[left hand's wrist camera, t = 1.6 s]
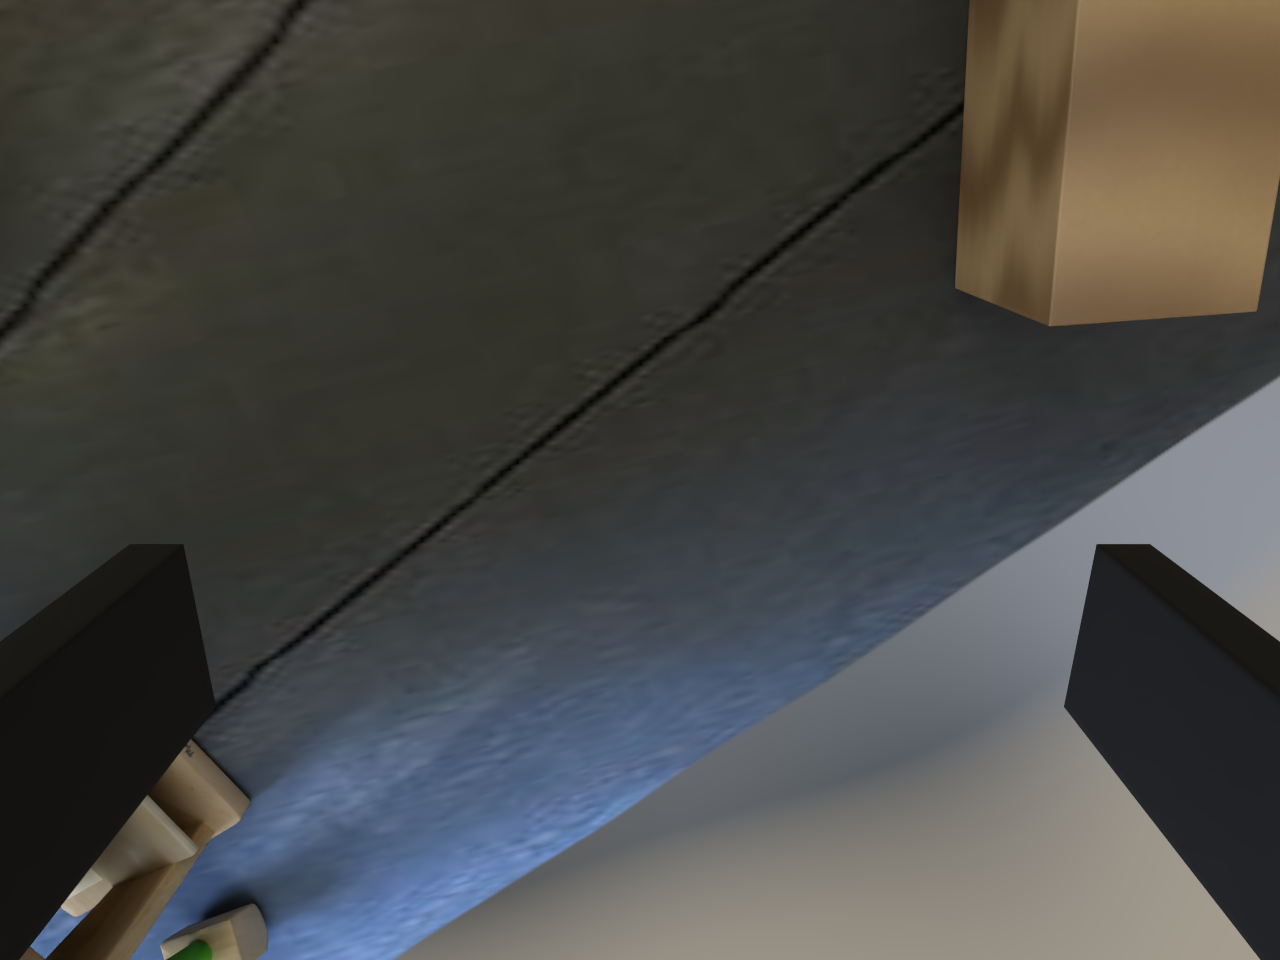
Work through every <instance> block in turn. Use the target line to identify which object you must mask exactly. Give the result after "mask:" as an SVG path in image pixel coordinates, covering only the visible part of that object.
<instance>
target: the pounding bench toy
mask: <svg viewBox="0 0 1280 960" xmlns="http://www.w3.org/2000/svg"><path fill="white" fill-rule="evenodd" d="M249 805H250V800H249V799H248V798H247V797H246V796H245V795H244V794H243V793H242V791H241V790H240V789H239V788H238V787H237V786H236V785H235V784H234V783H233V782H232V781H231V780H230V779H229V778H228V777H227V776H226V775H225V774H224V773H223V772H222V771H221V770H220V769H219V768H218V767H217V766H216V765H215V763H214V762H213V761H212V760H211V759H210V758H209V757H208V756H207V755H206V754H205V753H204V752H203V751H202V750H201V749H200V748H199V747H198V746H197V745H196V744H195V743H194V742H193V741H192V740H190V741H189V742H188V743H187V745H186V746H185V747H184V749H183V750H182V751H181V752H180V754H179V755H178V756H177V758H176V759H175V760H174V761H173V763H172V764H171V765H170V767H169V768H168V769H167V770H166V772H165V773H164V774H163V776H162V777H161V778H160V779H159V781H158V782H157V783H156V785H155V786H154V787H153V788H152V790H151V791H150V792H149V794H148V795H147V796H146V797H145V799H144V800H143V801H142V803H141V804H140V805H139V806H138V808H137V809H136V810H135V812H134V813H133V814H132V815H131V817H130V818H129V819H128V821H127V822H126V823H125V824H124V826H123V827H122V828H121V830H120V831H119V832H118V833H117V835H116V836H115V837H114V839H113V840H112V841H111V843H110V844H109V845H108V846H107V848H106V849H105V850H104V852H103V853H102V854H101V855H100V857H99V858H98V859H97V861H96V862H95V863H94V864H93V866H92V867H91V868H90V870H89V871H88V872H87V873H86V875H85V876H84V877H83V879H82V880H81V881H80V882H79V884H78V885H77V886H76V888H75V889H74V890H73V891H72V893H71V894H70V895H69V897H68V898H67V899H66V900H65V902H64V903H63V904H62V906H61V908H62V909H64V910H65V911H66V912H68V913H69V914H71V915H72V916H74V917H78V916H80V915H82V914H84V913H85V912H87V911H89V910H91V909H92V908H93V909H92V910H91V911H90V912H89V913H88V915H87V916H86V917H85V918H84V919H83V920H82V921H81V922H80V923H79V924H78V925H77V926H76V927H75V928H74V929H73V930H72V931H71V932H70V934H69V935H68V936H67V937H66V938H65V939H64V940H63V941H62V942H61V943H60V944H59V945H58V946H57V947H56V948H55V950H54V951H53V952H52V953H51V954H50V955H49V956H48V957H47V958H46V959H44V958H43V957H42V956H41V955H39V954H38V953H37V952H36V951H35V950H34V949H32V948H31V947H29V948H28V949H27V951H26V952H25V953H24V954H23V956H22V957H21V958H20V960H130V958H131V957H132V955H133V954H134V953H135V951H136V950H137V948H138V947H139V945H140V944H141V942H142V941H143V939H144V938H145V936H146V935H147V933H148V932H149V930H150V929H151V927H152V926H153V924H154V923H155V921H156V920H157V918H158V917H159V915H160V914H161V912H162V911H163V909H164V908H165V906H166V905H167V903H168V902H169V901H170V899H171V898H172V896H173V895H174V893H175V892H176V890H177V889H178V887H179V886H180V884H181V883H182V881H183V880H184V878H185V876H186V875H187V873H188V872H189V870H190V869H191V867H192V866H193V864H194V863H195V861H196V860H197V859H198V857H199V856H200V854H201V853H202V851H203V850H204V848H205V847H206V845H207V844H208V842H209V841H210V839H212V838H214V837H215V836H217V835H219V834H220V833H222V832H224V831H225V830H227V829H229V828H230V827H232V826H233V825H235V824H236V823H238V822H239V821H240V820H241V818H242V817H243V815H244V813H245V812H246V810H247V809H248V807H249ZM160 946H161V950H162V953H163V957H164V960H256V959H257V958H259V957H260V956H261V955H262V954H264V953H265V952H266V951H267V947H268V933H267V929H266V925H265V922H264V919H263V917H262V915H261V912H260V911H259V909H258V908H257V906H256V905H255V904H248V905H245V906H243V907H240V908H237V909H234V910H232V911H229V912H226V913H223V914H220V915H218V916H215V917H212V918H209V919H206V920H204V921H201V922H198V923H195V924H192V925H190V926H187V927H186V928H184V929H182V930H180V931H179V932H177V933H175V934H174V935H172V936H171V937H169V938H167V939H166V940H164V941H163V942H162V943H161V945H160Z"/></svg>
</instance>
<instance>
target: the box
mask: <svg viewBox="0 0 1280 960" xmlns="http://www.w3.org/2000/svg"><path fill="white" fill-rule="evenodd" d="M1279 179H1280V0H969V19H968V39H967V59H966V79H965V99H964V118H963V138H962V158H961V178H960V197H959V217H958V237H957V257H956V276H955V288H956V289H958V290H961V291H963V292H966V293H968V294H971V295H973V296H976V297H978V298H981V299H983V300H986V301H988V302H991V303H993V304H996V305H998V306H1001V307H1003V308H1005V309H1008V310H1010V311H1013V312H1015V313H1018V314H1020V315H1023V316H1025V317H1028V318H1030V319H1033V320H1035V321H1038V322H1040V323H1043V324H1045V325H1048V326H1050V327H1051V326H1065V325H1078V324H1092V323H1106V322H1119V321H1133V320H1147V319H1161V318H1174V317H1188V316H1202V315H1215V314H1229V313H1243V312H1254V311H1257V308H1258V302H1259V296H1260V290H1261V284H1262V278H1263V272H1264V267H1265V261H1266V255H1267V249H1268V243H1269V237H1270V231H1271V226H1272V220H1273V214H1274V208H1275V202H1276V196H1277V191H1278V185H1279Z"/></svg>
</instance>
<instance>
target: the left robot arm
mask: <svg viewBox="0 0 1280 960" xmlns="http://www.w3.org/2000/svg"><path fill="white" fill-rule="evenodd" d="M215 707H216V705H215V700H214V695H213V690H212V685H211V680H210V675H209V670H208V665H207V660H206V655H205V650H204V645H203V640H202V635H201V630H200V625H199V620H198V615H197V610H196V605H195V600H194V595H193V590H192V585H191V580H190V575H189V570H188V565H187V560H186V555H185V550H184V545H183V544H130V545H128V546H127V547H126V548H124V549H123V550H122V551H120V552H119V553H118V554H116V555H115V556H114V557H112V558H111V559H110V560H108V561H107V562H106V563H104V564H103V565H102V566H100V567H99V568H98V569H96V570H95V571H94V572H92V573H91V574H90V575H88V576H87V577H86V578H84V579H83V580H82V581H80V582H79V583H78V584H76V585H75V586H74V587H72V588H71V589H70V590H68V591H67V592H66V593H64V594H63V595H62V596H60V597H59V598H58V599H57V600H55V601H54V602H53V603H51V604H50V605H49V606H47V607H46V608H45V609H43V610H42V611H41V612H39V613H38V614H37V615H35V616H34V617H33V618H31V619H30V620H29V621H27V622H26V623H25V624H23V625H22V626H21V627H19V628H18V629H17V630H15V631H14V632H13V633H11V634H10V635H9V636H7V637H6V638H5V639H3V640H2V641H1V642H0V960H20V958H21V957H22V956H23V954H24V953H25V952H26V951H27V949H28V948H29V947H30V945H31V944H32V943H33V942H34V940H35V939H36V938H37V936H38V935H39V934H40V933H41V931H42V930H43V929H44V927H45V926H46V925H47V924H48V922H49V921H50V920H51V918H52V917H53V916H54V915H55V913H56V912H57V911H58V909H59V908H60V907H61V906H62V904H63V903H64V902H65V900H66V899H67V898H68V897H69V895H70V894H71V893H72V891H73V890H74V889H75V888H76V886H77V885H78V884H79V882H80V881H81V880H82V879H83V877H84V876H85V875H86V873H87V872H88V871H89V870H90V868H91V867H92V866H93V864H94V863H95V862H96V861H97V859H98V858H99V857H100V855H101V854H102V853H103V852H104V850H105V849H106V848H107V846H108V845H109V844H110V843H111V841H112V840H113V839H114V837H115V836H116V835H117V833H118V832H119V831H120V830H121V828H122V827H123V826H124V824H125V823H126V822H127V821H128V819H129V818H130V817H131V815H132V814H133V813H134V812H135V810H136V809H137V808H138V806H139V805H140V804H141V803H142V801H143V800H144V799H145V797H146V796H147V795H148V794H149V792H150V791H151V790H152V788H153V787H154V786H155V785H156V783H157V782H158V781H159V779H160V778H161V777H162V776H163V774H164V773H165V772H166V770H167V769H168V768H169V767H170V765H171V764H172V763H173V761H174V760H175V759H176V758H177V756H178V755H179V754H180V752H181V751H182V750H183V749H184V747H185V746H186V745H187V743H188V742H189V741H190V740H191V738H192V737H193V736H194V734H195V733H196V732H197V731H198V729H199V728H200V727H201V725H202V724H203V723H204V722H205V720H206V719H207V718H208V716H209V715H210V714H211V712H212V711H213V710H214V709H215ZM1064 707H1065V709H1066V710H1067V711H1068V712H1069V714H1070V715H1071V716H1072V718H1073V719H1074V720H1075V721H1076V723H1077V724H1078V725H1079V727H1080V728H1081V729H1082V731H1083V732H1084V733H1085V734H1086V736H1087V737H1088V738H1089V740H1090V741H1091V742H1092V743H1093V745H1094V746H1095V747H1096V748H1097V750H1098V751H1099V752H1100V754H1101V755H1102V756H1103V758H1104V759H1105V760H1106V761H1107V763H1108V764H1109V765H1110V767H1111V768H1112V769H1113V770H1114V772H1115V773H1116V774H1117V776H1118V777H1119V778H1120V779H1121V781H1122V782H1123V783H1124V785H1125V786H1126V787H1127V788H1128V790H1129V791H1130V792H1131V794H1132V795H1133V796H1134V797H1135V799H1136V800H1137V801H1138V803H1139V804H1140V805H1141V806H1142V808H1143V809H1144V810H1145V812H1146V813H1147V814H1148V815H1149V817H1150V818H1151V819H1152V821H1153V822H1154V823H1155V824H1156V826H1157V827H1158V828H1159V830H1160V831H1161V832H1162V833H1163V835H1164V836H1165V837H1166V839H1167V840H1168V841H1169V842H1170V844H1171V845H1172V846H1173V848H1174V849H1175V850H1176V851H1177V853H1178V854H1179V855H1180V857H1181V858H1182V859H1183V860H1184V862H1185V863H1186V864H1187V866H1188V867H1189V868H1190V870H1191V871H1192V872H1193V873H1194V875H1195V876H1196V877H1197V879H1198V880H1199V881H1200V882H1201V884H1202V885H1203V886H1204V888H1205V889H1206V890H1207V891H1208V893H1209V894H1210V895H1211V897H1212V898H1213V899H1214V900H1215V902H1216V903H1217V904H1218V906H1219V907H1220V908H1221V909H1222V911H1223V912H1224V913H1225V915H1226V916H1227V917H1228V918H1229V920H1230V921H1231V922H1232V924H1233V925H1234V926H1235V927H1236V929H1237V930H1238V931H1239V933H1240V934H1241V935H1242V936H1243V938H1244V939H1245V940H1246V942H1247V943H1248V944H1249V945H1250V947H1251V948H1252V949H1253V951H1254V952H1255V953H1256V954H1257V956H1258V957H1259V958H1260V960H1280V642H1279V641H1278V640H1277V639H1275V638H1274V637H1273V636H1271V635H1270V634H1269V633H1267V632H1266V631H1265V630H1263V629H1262V628H1261V627H1259V626H1258V625H1257V624H1255V623H1254V622H1253V621H1251V620H1250V619H1249V618H1247V617H1246V616H1245V615H1243V614H1242V613H1241V612H1239V611H1238V610H1237V609H1235V608H1234V607H1233V606H1231V605H1230V604H1229V603H1227V602H1226V601H1225V600H1223V599H1222V598H1221V597H1219V596H1218V595H1217V594H1216V593H1214V592H1213V591H1212V590H1210V589H1209V588H1208V587H1206V586H1205V585H1204V584H1202V583H1201V582H1200V581H1198V580H1197V579H1196V578H1194V577H1193V576H1192V575H1190V574H1189V573H1188V572H1186V571H1185V570H1184V569H1182V568H1181V567H1180V566H1178V565H1177V564H1176V563H1174V562H1173V561H1172V560H1170V559H1169V558H1168V557H1166V556H1165V555H1164V554H1162V553H1161V552H1160V551H1158V550H1157V549H1156V548H1154V547H1153V546H1152V545H1150V544H1097V545H1096V551H1095V555H1094V560H1093V565H1092V570H1091V575H1090V580H1089V585H1088V590H1087V595H1086V600H1085V605H1084V610H1083V615H1082V620H1081V625H1080V630H1079V635H1078V640H1077V645H1076V650H1075V655H1074V660H1073V665H1072V670H1071V675H1070V680H1069V685H1068V690H1067V695H1066V700H1065V705H1064Z"/></svg>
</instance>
